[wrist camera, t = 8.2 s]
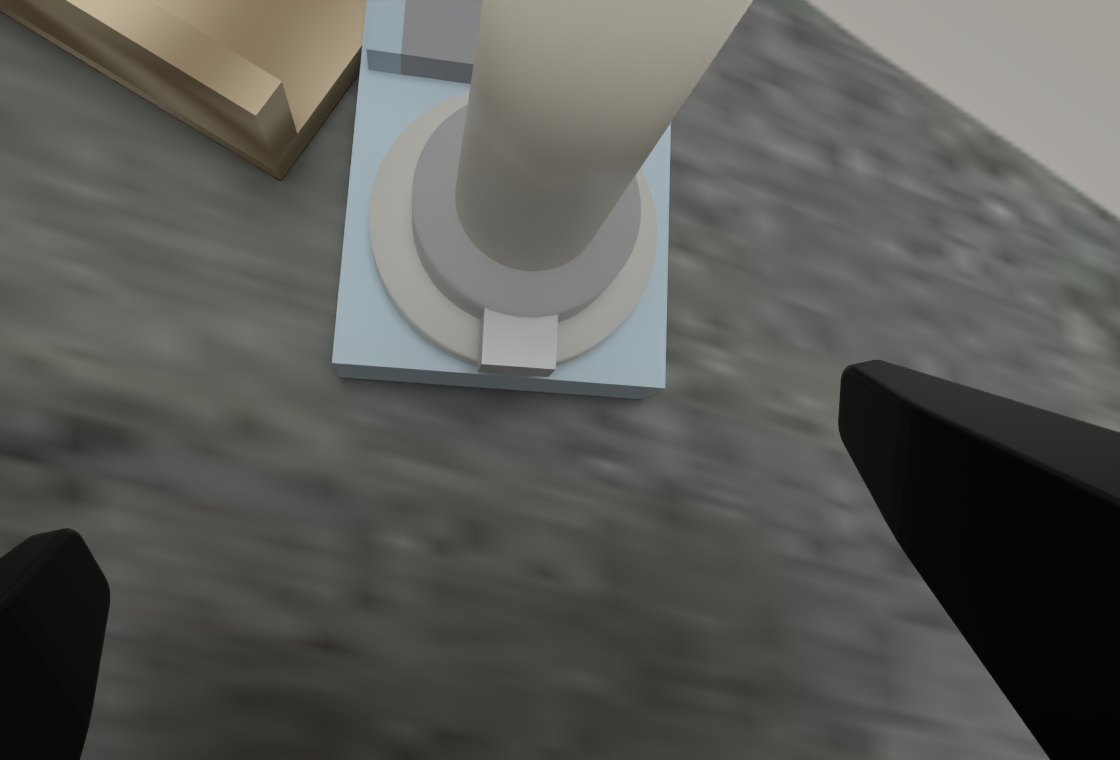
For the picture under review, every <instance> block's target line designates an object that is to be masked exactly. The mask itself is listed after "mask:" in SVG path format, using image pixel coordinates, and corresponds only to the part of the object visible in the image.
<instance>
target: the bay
mask: <svg viewBox="0 0 1120 760" xmlns="http://www.w3.org/2000/svg"><path fill="white" fill-rule="evenodd" d="M366 2H367V0H0V11H1V12H2V13H4V14H6V15H7V16H9V17H10V18H12V19H14V20H15V21H17V22H19V23H20V24H22V25H24V26H25V27H27V28H29V29H30V30H32V31H34V32H35V33H37V34H39V35H40V36H42V37H44V38H45V39H47V40H49V41H50V42H52V43H54V44H55V45H57V46H59V47H60V48H62V49H63V50H65V51H67V52H68V53H70V54H72V55H73V56H75V57H77V58H78V59H80V60H82V61H83V62H85V63H87V64H88V65H90V66H92V67H93V68H95V69H97V70H98V71H100V72H102V73H103V74H105V75H107V76H108V77H110V78H112V79H113V80H115V81H117V82H118V83H120V84H121V85H123V86H125V87H126V88H128V89H130V90H131V91H133V92H135V93H136V94H138V95H140V96H141V97H143V98H145V99H146V100H148V101H150V102H151V103H153V104H155V105H156V106H158V107H160V108H161V109H163V110H165V111H166V112H168V113H170V114H171V115H173V116H174V117H176V118H178V119H179V120H181V121H183V122H184V123H186V124H188V125H189V126H191V127H193V128H194V129H196V130H198V131H199V132H201V133H203V134H204V135H206V136H208V137H209V138H211V139H213V140H214V141H216V142H218V143H219V144H221V145H223V146H224V147H226V148H227V149H229V150H231V151H232V152H234V153H236V154H237V155H239V156H241V157H242V158H244V159H246V160H247V161H249V162H251V163H252V164H254V165H256V166H257V167H259V168H261V169H262V170H264V171H266V172H267V173H269V174H271V175H272V176H274V177H276V178H277V179H279V180H282V179H283V178H284V176H285V175H286V174H287V172H288V171H289V169H290V168H291V167H292V165H293V164H294V162H295V161H296V160H297V158H298V157H299V156H300V154H301V153H302V151H303V150H304V149H305V147H306V146H307V145H308V143H309V142H310V140H311V139H312V138H313V136H314V135H315V133H316V132H317V131H318V129H319V128H320V127H321V125H322V124H323V122H324V121H325V120H326V118H327V117H328V116H329V114H330V113H331V111H332V110H333V109H334V107H335V106H336V104H337V103H338V102H339V100H340V99H341V98H342V96H343V95H344V93H345V92H346V91H347V89H348V88H349V86H350V85H351V84H352V82H353V81H354V80H355V78H356V77H357V75H358V74H359V73H360V65H361V54H362V44H363V34H364V23H365V13H366Z"/></svg>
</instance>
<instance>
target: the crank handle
mask: <svg viewBox="0 0 1120 760" xmlns="http://www.w3.org/2000/svg"><path fill="white" fill-rule="evenodd" d="M752 1H753V0H483V1H482V8H481V15H480V22H479V29H478V36H477V43H476V50H475V57H474V63H473V70H472V77H471V84H470V91H469V98H468V104H467V105H465V106H463V107H462V108H460V109H459V110H457V111H456V112H454V113H452V114H451V115H450V116H449V117H448V118H447V119H445V120H444V121H443V122H442V123H441V124H440V125H439V126H438V128H437V129H436V130H435V131H434V132H433V133H432V135H431V136H430V138H429V139H428V141H427V142H426V144H425V145H424V148H423V150H422V152H421V154H420V156H419V158H418V162H417V165H416V168H415V172H414V178H413V185H412V231H413V239H414V243H415V247H416V250H417V254H418V256H419V259H420V261H421V263H422V266H423V268H424V269H425V271H426V273H427V274H428V276H429V278H430V279H431V281H432V282H433V283H434V284H435V286H436V287H437V288H438V290H439V291H440V292H441V293H442V294H443V295H444V296H445V297H446V298H447V299H448V300H449V301H451V302H452V303H453V304H455V305H456V306H457V307H459V308H460V309H461V310H463V311H465V312H467V313H468V314H470V315H472V316H473V317H476V318H478V319H481V322H480V339H479V356H478V372H483V373H497V374H511V375H525V376H539V377H549V376H550V375H551V374H552V373H553V372H554V371H555V370H556V355H557V331H558V323H559V322H561V321H564V320H566V319H569V318H571V317H573V316H574V315H576V314H578V313H580V312H581V311H583V310H584V309H585V308H586V307H588V306H589V305H590V304H592V303H593V302H594V301H595V300H596V299H597V298H598V297H599V296H600V295H601V293H602V292H603V291H604V290H605V289H606V288H607V287H608V286H609V284H610V283H611V282H612V281H613V280H614V279H615V278H616V276H617V275H618V274H619V272H620V271H621V270H622V268H623V267H624V266H625V264H626V262H627V261H628V259H629V257H630V255H631V253H632V251H633V248H634V246H635V243H636V241H637V237H638V232H639V228H640V220H641V198H640V192H639V187H638V182H637V179H636V176H635V175H636V174H637V172H638V171H639V169H640V168H641V166H642V165H643V163H644V162H645V160H646V159H647V158H648V156H649V155H650V153H651V152H652V150H653V149H654V147H655V146H656V144H657V143H658V141H659V140H660V138H661V137H662V135H663V134H664V132H665V131H666V129H667V128H668V126H669V125H670V123H671V122H672V120H673V119H674V117H675V116H676V114H677V113H678V111H679V110H680V108H681V107H682V105H683V104H684V102H685V101H686V99H687V98H688V97H689V95H690V94H691V92H692V91H693V89H694V88H695V86H696V85H697V83H698V82H699V80H700V79H701V77H702V76H703V74H704V73H705V71H706V70H707V68H708V67H709V65H710V64H711V62H712V61H713V59H714V58H715V56H716V55H717V53H718V52H719V50H720V49H721V47H722V46H723V44H724V43H725V41H726V40H727V38H728V37H729V36H730V34H731V33H732V31H733V30H734V28H735V27H736V25H737V24H738V22H739V21H740V19H741V18H742V16H743V15H744V13H745V12H746V10H747V9H748V7H749V6H750V4H751V3H752Z"/></svg>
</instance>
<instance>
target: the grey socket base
mask: <svg viewBox="0 0 1120 760" xmlns="http://www.w3.org/2000/svg"><path fill="white" fill-rule="evenodd" d="M482 1H483V0H367V2H366V13H365V23H364V34H363V44H362V54H361V65H360V75H359V86H358V96H357V106H356V117H355V127H354V138H353V148H352V159H351V169H350V179H349V190H348V200H347V211H346V221H345V231H344V242H343V252H342V263H341V273H340V283H339V294H338V304H337V315H336V325H335V335H334V346H333V356H332V364H333V366H334V368H335V370H336V372H337V374H338V376H339V377H342V378H356V379H369V380H383V381H397V382H410V383H424V384H438V385H452V386H465V387H479V388H493V389H506V390H520V391H534V392H547V393H561V394H575V395H589V396H602V397H616V398H630V399H644V398H646V397H648V396H650V395H652V394H654V393H656V392H658V391H660V390H662V389H664V388H665V371H666V324H667V277H668V230H669V183H670V136H671V123H670V125H669V126H668V128H667V129H666V131H665V132H664V134H663V135H662V137H661V138H660V140H659V141H658V143H657V144H656V146H655V147H654V149H653V150H652V152H651V153H650V155H649V156H648V158H647V159H646V160H645V162H644V163H643V165H642V166H641V168H640V169H639V171H638V172H637V174H636V175H635V176H636V179H637V182H638V187H639V192H640V198H641V220H640V228H639V232H638V237H637V241H636V243H635V246H634V248H633V251H632V253H631V255H630V257H629V259H628V261H627V262H626V264H625V266H624V267H623V268H622V270H621V271H620V272H619V274H618V275H617V276H616V278H615V279H614V280H613V281H612V282H611V283H610V284H609V286H608V287H607V288H606V289H605V290H604V291H603V292H602V293H601V295H600V296H599V297H598V298H597V299H596V300H595V301H594V302H593V303H592V304H590V305H589V306H588V307H586V308H585V309H584V310H583V311H581V312H580V313H578V314H576V315H574V316H573V317H571V318H569V319H566V320H564V321H561V322H559V323H558V331H557V355H556V370H555V371H554V372H553V373H552V374H551V375H550V376H549V377H539V376H525V375H511V374H497V373H483V372H478V356H479V339H480V322H481V319H478V318H476V317H473V316H472V315H470V314H468V313H467V312H465V311H463V310H461V309H460V308H459V307H457V306H456V305H455V304H453V303H452V302H451V301H449V300H448V299H447V298H446V297H445V296H444V295H443V294H442V293H441V292H440V291H439V290H438V288H437V287H436V286H435V284H434V283H433V282H432V281H431V279H430V278H429V276H428V274H427V273H426V271H425V269H424V268H423V266H422V263H421V261H420V259H419V256H418V254H417V250H416V247H415V243H414V239H413V231H412V185H413V178H414V172H415V168H416V165H417V162H418V158H419V156H420V154H421V152H422V150H423V148H424V145H425V144H426V142H427V141H428V139H429V138H430V136H431V135H432V133H433V132H434V131H435V130H436V129H437V128H438V126H439V125H440V124H441V123H442V122H443V121H444V120H445V119H447V118H448V117H449V116H450V115H451V114H452V113H454V112H456V111H457V110H459V109H460V108H462V107H463V106H465V105H467V104H468V98H469V91H470V84H471V77H472V70H473V63H474V57H475V50H476V43H477V36H478V29H479V22H480V15H481V8H482Z"/></svg>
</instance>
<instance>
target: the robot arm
mask: <svg viewBox="0 0 1120 760" xmlns="http://www.w3.org/2000/svg"><path fill="white" fill-rule="evenodd" d="M838 426H839V432H840V436H841V439H842V442H843V444H844V446H845V447H846V449H847V451H848V453H849V455H850V457H851V458H852V460H853V462H854V464H855V466H856V468H857V470H858V471H859V473H860V475H861V477H862V479H863V481H864V482H865V484H866V486H867V488H868V490H869V492H870V493H871V495H872V497H873V499H874V501H875V503H876V505H877V506H878V508H879V510H880V512H881V514H882V516H883V517H884V519H885V521H886V523H887V525H888V527H889V528H890V530H891V532H892V533H893V535H894V537H895V538H896V540H897V542H898V543H899V545H900V546H901V548H902V549H903V551H904V552H905V554H906V555H907V557H908V558H909V560H910V561H911V562H912V564H913V565H914V567H915V568H916V570H917V571H918V572H919V574H920V575H921V577H922V578H923V580H924V581H925V582H926V584H927V585H928V587H929V588H930V589H931V591H932V592H933V594H934V595H935V597H936V598H937V599H938V601H939V602H940V604H941V605H942V607H943V608H944V609H945V611H946V612H947V614H948V615H949V617H950V618H951V619H952V621H953V622H954V624H955V625H956V626H957V628H958V629H959V631H960V632H961V634H962V635H963V636H964V638H965V639H966V641H967V642H968V644H969V645H970V646H971V648H972V649H973V651H974V652H975V654H976V655H977V656H978V658H979V659H980V661H981V662H982V663H983V665H984V666H985V668H986V669H987V671H988V672H989V673H990V675H991V676H992V678H993V679H994V681H995V682H996V683H997V685H998V686H999V688H1000V689H1001V690H1002V692H1003V693H1004V695H1005V696H1006V698H1007V699H1008V700H1009V702H1010V703H1011V705H1012V706H1013V708H1014V709H1015V710H1016V712H1017V713H1018V715H1019V716H1020V718H1021V719H1022V720H1023V722H1024V723H1025V725H1026V726H1027V727H1028V729H1029V730H1030V732H1031V733H1032V735H1033V736H1034V737H1035V739H1036V740H1037V742H1038V743H1039V745H1040V746H1041V747H1042V749H1043V750H1044V752H1045V753H1046V754H1047V756H1048V757H1049V759H1050V760H1120V432H1117V431H1113V430H1110V429H1107V428H1103V427H1100V426H1097V425H1094V424H1090V423H1087V422H1084V421H1080V420H1077V419H1074V418H1070V417H1067V416H1064V415H1060V414H1057V413H1054V412H1050V411H1047V410H1044V409H1041V408H1037V407H1034V406H1031V405H1027V404H1024V403H1021V402H1017V401H1014V400H1011V399H1007V398H1004V397H1001V396H998V395H994V394H991V393H988V392H984V391H981V390H978V389H974V388H971V387H968V386H964V385H961V384H958V383H955V382H951V381H948V380H945V379H941V378H938V377H935V376H931V375H928V374H925V373H921V372H918V371H915V370H911V369H908V368H905V367H902V366H898V365H895V364H892V363H888V362H885V361H882V360H872V361H867V362H862V363H857V364H853V365H849V366H847V367H846V368H845V369H844V370H843V373H842V376H841V385H840V402H839V418H838ZM109 606H110V589H109V585H108V582H107V580H106V577H105V576H104V574H103V572H102V571H101V569H100V567H99V565H98V564H97V562H96V560H95V558H94V557H93V555H92V553H91V552H90V550H89V548H88V546H87V545H86V543H85V541H84V540H83V538H82V537H81V535H80V534H79V533H78V532H76V531H75V530H72V529H69V528H65V529H60V530H55V531H50V532H45V533H41V534H36V535H33V536H31V537H29V538H27V539H26V540H25V541H23V542H22V543H20V544H19V545H18V546H16V547H15V548H14V549H12V550H11V551H9V552H8V553H7V554H5V555H4V556H3V557H1V558H0V760H80V758H81V754H82V751H83V747H84V743H85V739H86V735H87V731H88V728H89V723H90V718H91V713H92V708H93V703H94V697H95V691H96V685H97V679H98V673H99V667H100V661H101V655H102V649H103V643H104V636H105V630H106V624H107V618H108V612H109Z"/></svg>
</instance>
